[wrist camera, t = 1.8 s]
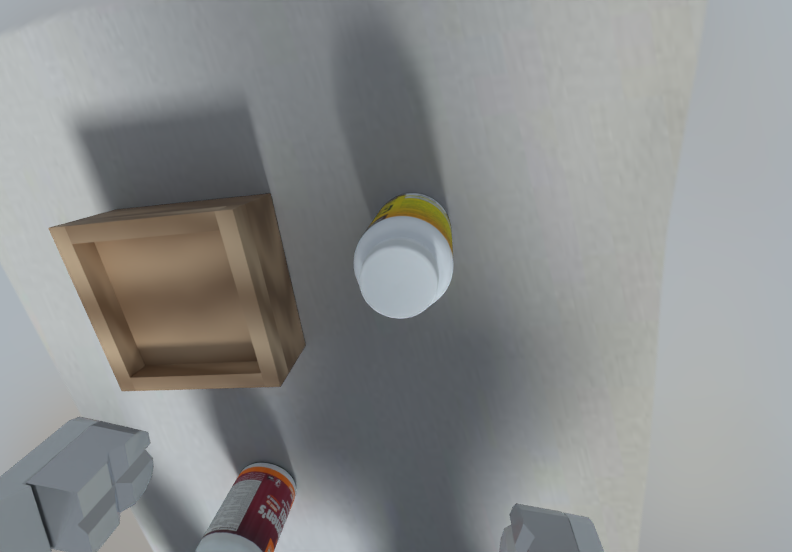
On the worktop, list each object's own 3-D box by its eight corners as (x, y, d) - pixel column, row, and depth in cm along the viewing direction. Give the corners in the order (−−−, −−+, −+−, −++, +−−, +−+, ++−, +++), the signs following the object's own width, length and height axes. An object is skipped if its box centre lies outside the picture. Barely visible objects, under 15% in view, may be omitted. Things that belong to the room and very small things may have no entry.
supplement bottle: (394, 177, 27) (369, 208, 18) (465, 212, 28) (476, 260, 18) (363, 245, 29) (326, 305, 20) (429, 277, 30) (423, 350, 20)
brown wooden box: (305, 345, 33) (280, 386, 28) (168, 351, 35) (121, 391, 30) (270, 193, 29) (232, 209, 24) (115, 209, 31) (48, 227, 25)
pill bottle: (308, 497, 40) (261, 629, 30) (258, 507, 42) (197, 637, 31) (280, 454, 38) (219, 578, 28) (229, 466, 40) (153, 589, 30)
